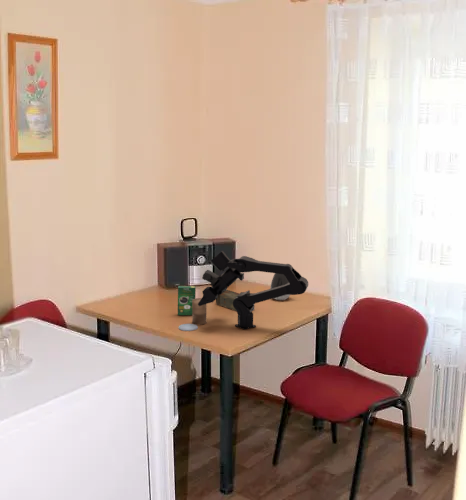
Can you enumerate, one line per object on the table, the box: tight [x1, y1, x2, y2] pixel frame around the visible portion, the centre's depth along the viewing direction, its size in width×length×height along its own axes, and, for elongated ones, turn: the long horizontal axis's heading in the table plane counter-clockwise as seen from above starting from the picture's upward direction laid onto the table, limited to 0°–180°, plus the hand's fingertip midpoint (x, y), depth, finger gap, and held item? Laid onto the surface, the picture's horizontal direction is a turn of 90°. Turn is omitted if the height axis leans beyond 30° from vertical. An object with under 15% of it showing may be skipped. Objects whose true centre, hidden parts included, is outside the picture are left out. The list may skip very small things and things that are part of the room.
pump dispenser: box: [269, 273, 291, 301], centre depth 303 cm, size 10×10×15 cm
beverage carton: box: [215, 289, 255, 312], centre depth 290 cm, size 8×19×7 cm, turn 42°
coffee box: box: [177, 285, 196, 316], centre depth 277 cm, size 8×3×13 cm, turn 93°
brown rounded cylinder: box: [191, 297, 207, 326], centre depth 267 cm, size 6×6×10 cm
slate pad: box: [178, 323, 199, 332], centre depth 261 cm, size 8×8×1 cm
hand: (201, 302), depth 266 cm, fingers open, 9 cm apart
